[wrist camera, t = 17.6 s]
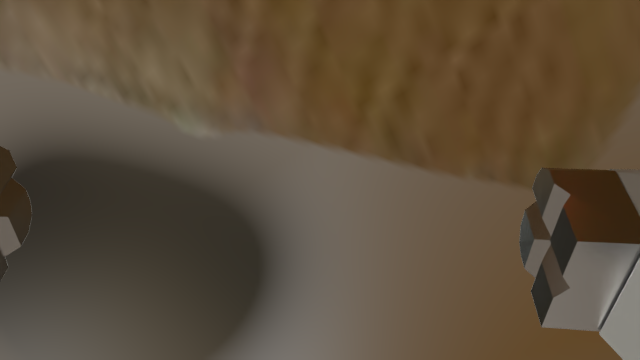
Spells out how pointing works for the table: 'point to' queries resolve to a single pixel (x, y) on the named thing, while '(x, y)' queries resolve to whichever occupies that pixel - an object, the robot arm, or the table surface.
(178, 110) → the table surface
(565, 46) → the table surface
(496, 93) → the table surface
